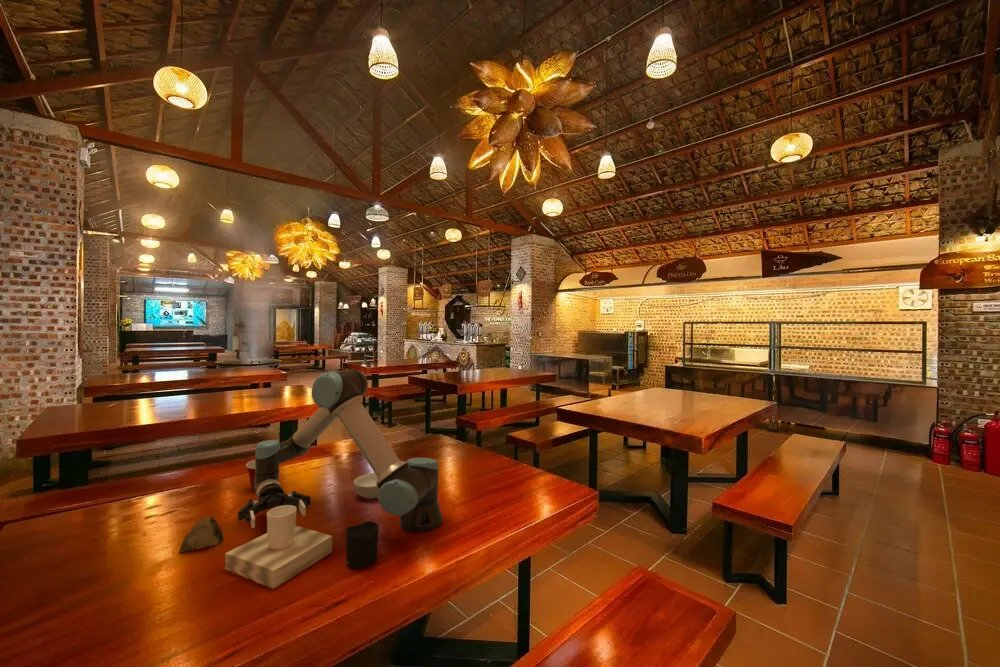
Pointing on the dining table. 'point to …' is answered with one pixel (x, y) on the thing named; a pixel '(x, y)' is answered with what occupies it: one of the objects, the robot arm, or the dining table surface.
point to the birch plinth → (278, 557)
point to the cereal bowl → (367, 486)
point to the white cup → (281, 526)
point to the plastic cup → (251, 473)
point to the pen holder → (362, 545)
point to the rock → (202, 535)
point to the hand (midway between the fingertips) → (279, 517)
